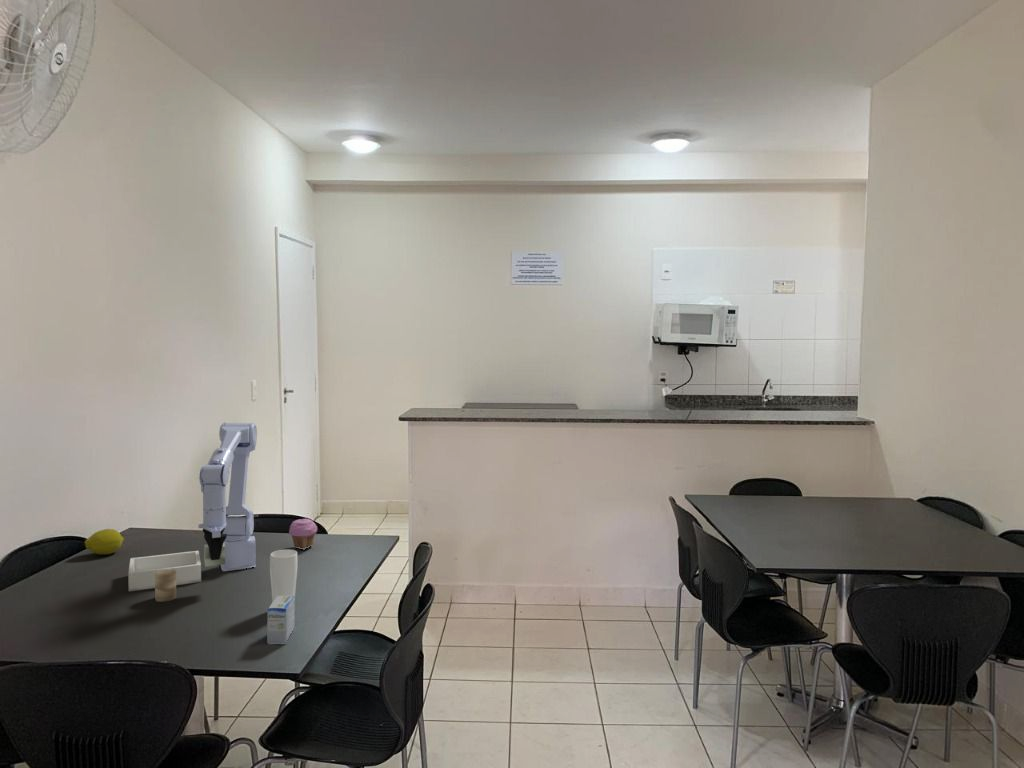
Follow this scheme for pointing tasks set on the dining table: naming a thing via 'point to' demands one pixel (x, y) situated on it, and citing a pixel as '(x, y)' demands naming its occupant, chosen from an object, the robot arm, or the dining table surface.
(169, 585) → the wooden cylinder
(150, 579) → the box
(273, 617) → the medicine box
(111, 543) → the lemon
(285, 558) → the drinking glass
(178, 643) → the dining table surface
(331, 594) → the dining table surface
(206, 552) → the sage cube
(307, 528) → the cupcake
